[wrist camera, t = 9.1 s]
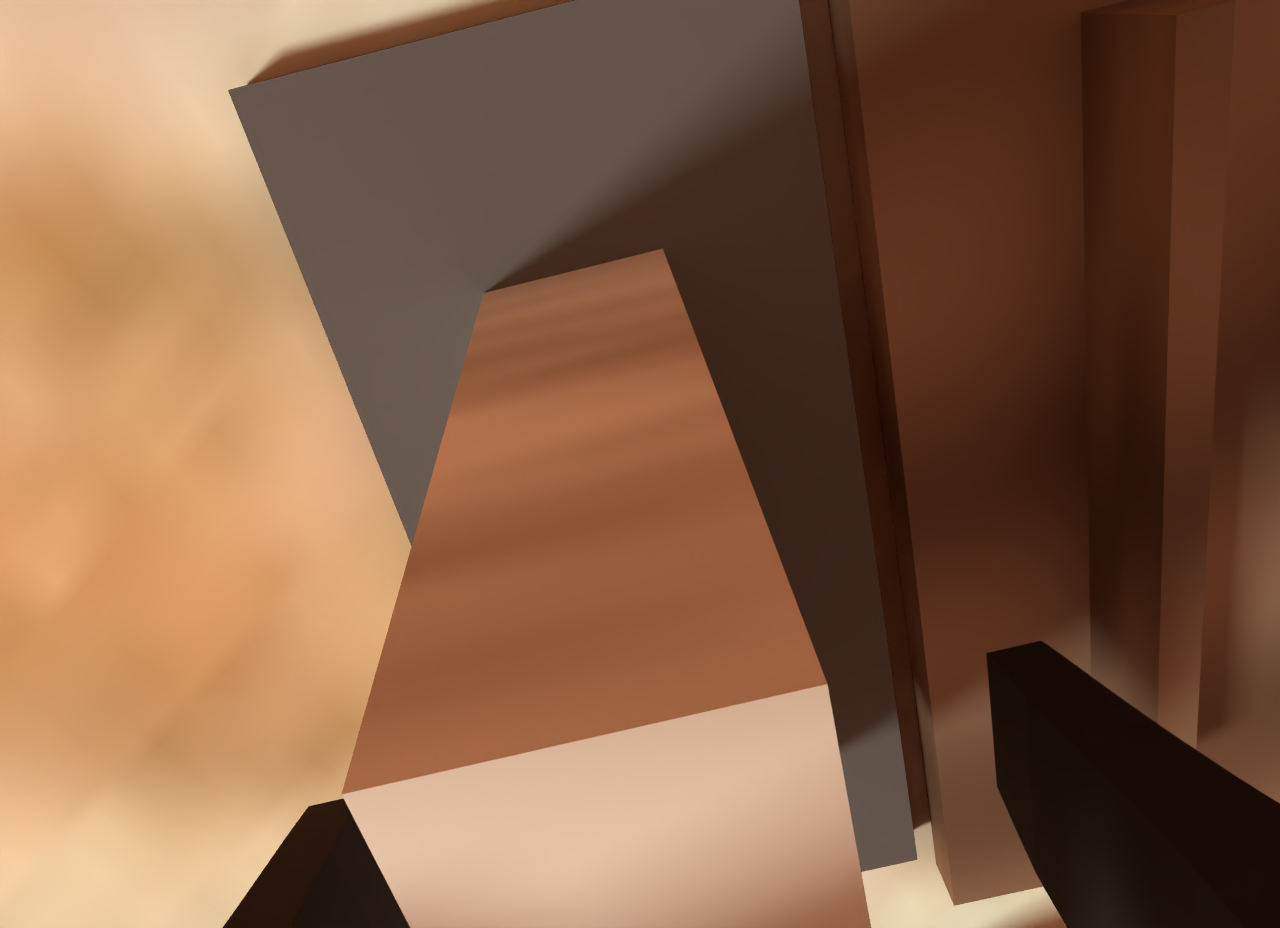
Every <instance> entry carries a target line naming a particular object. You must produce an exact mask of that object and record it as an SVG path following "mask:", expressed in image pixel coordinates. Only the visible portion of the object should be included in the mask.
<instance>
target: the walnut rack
mask: <svg viewBox="0 0 1280 928" xmlns="http://www.w3.org/2000/svg"><path fill="white" fill-rule="evenodd" d="M828 2H829V10H830V18H831V26H832V34H833V42H834V50H835V58H836V66H837V74H838V82H839V90H840V98H841V106H842V114H843V122H844V130H845V138H846V146H847V154H848V162H849V170H850V178H851V186H852V194H853V202H854V210H855V218H856V226H857V234H858V242H859V250H860V258H861V266H862V274H863V282H864V290H865V298H866V306H867V314H868V322H869V330H870V338H871V346H872V354H873V362H874V370H875V378H876V386H877V394H878V402H879V410H880V418H881V426H882V434H883V442H884V450H885V458H886V466H887V474H888V482H889V490H890V498H891V506H892V514H893V522H894V530H895V538H896V546H897V554H898V562H899V570H900V578H901V585H902V593H903V601H904V609H905V617H906V625H907V633H908V641H909V649H910V657H911V665H912V673H913V681H914V689H915V697H916V705H917V713H918V721H919V729H920V737H921V745H922V753H923V761H924V769H925V777H926V785H927V793H928V801H929V809H930V817H931V825H932V833H933V841H934V849H935V857H936V864H937V866H938V869H939V871H940V873H941V876H942V878H943V880H944V883H945V885H946V887H947V890H948V892H949V894H950V897H951V899H952V902H953V904H954V905H959V904H964V903H968V902H973V901H978V900H982V899H987V898H991V897H996V896H1001V895H1005V894H1010V893H1015V892H1019V891H1024V890H1028V889H1033V888H1038V887H1042V886H1043V885H1042V883H1041V881H1040V880H1039V878H1038V876H1037V874H1036V872H1035V870H1034V868H1033V866H1032V864H1031V862H1030V859H1029V857H1028V855H1027V853H1026V851H1025V849H1024V846H1023V844H1022V842H1021V840H1020V838H1019V836H1018V833H1017V831H1016V829H1015V826H1014V824H1013V822H1012V820H1011V817H1010V815H1009V813H1008V811H1007V808H1006V806H1005V804H1004V801H1003V799H1002V797H1001V795H1000V792H999V790H998V788H997V781H996V768H995V756H994V743H993V731H992V718H991V706H990V693H989V681H988V669H987V656H986V653H989V652H993V651H997V650H1002V649H1006V648H1011V647H1015V646H1020V645H1024V644H1028V643H1033V642H1037V641H1042V642H1044V643H1046V644H1047V645H1049V646H1050V647H1052V648H1053V649H1055V650H1056V651H1057V652H1059V653H1060V654H1061V655H1063V656H1064V657H1066V658H1067V659H1068V660H1070V661H1071V662H1072V663H1074V664H1075V665H1077V666H1078V667H1079V668H1081V669H1082V670H1083V671H1085V672H1086V673H1088V674H1089V675H1090V676H1092V677H1093V678H1094V679H1096V680H1097V681H1098V682H1100V683H1101V684H1103V685H1104V686H1105V687H1107V688H1108V689H1110V690H1111V691H1112V692H1114V693H1115V694H1116V695H1118V696H1119V697H1121V698H1122V699H1124V700H1125V701H1126V702H1128V703H1129V704H1131V705H1132V706H1133V707H1135V708H1136V709H1138V710H1139V711H1140V712H1142V713H1143V714H1145V715H1146V716H1147V717H1149V718H1150V719H1152V720H1153V721H1155V722H1156V723H1158V724H1159V725H1160V726H1162V727H1163V728H1165V729H1166V730H1168V731H1169V732H1171V733H1172V734H1174V735H1175V736H1176V737H1178V738H1179V739H1181V740H1182V741H1184V742H1185V743H1187V744H1189V745H1190V746H1192V747H1193V748H1195V749H1196V750H1198V751H1199V752H1201V753H1202V754H1204V755H1205V756H1207V757H1208V758H1210V759H1211V760H1213V761H1214V762H1216V763H1217V764H1219V765H1220V766H1222V767H1223V768H1225V769H1226V770H1228V771H1229V772H1231V773H1232V774H1234V775H1235V776H1237V777H1238V778H1240V779H1242V780H1243V781H1245V782H1246V783H1248V784H1250V785H1251V786H1253V787H1254V788H1256V789H1257V790H1259V791H1261V792H1262V793H1264V794H1265V795H1267V796H1269V797H1270V798H1272V799H1273V800H1275V801H1277V802H1278V803H1280V0H828Z"/></svg>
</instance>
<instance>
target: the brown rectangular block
mask: <svg viewBox="0 0 1280 928" xmlns="http://www.w3.org/2000/svg"><path fill="white" fill-rule="evenodd" d="M342 796H343V798H344V800H345V802H346V804H347V806H348V808H349V810H350V812H351V814H352V816H353V818H354V820H355V822H356V824H357V825H358V827H359V829H360V831H361V833H362V835H363V837H364V839H365V841H366V843H367V845H368V847H369V849H370V851H371V853H372V855H373V856H374V858H375V860H376V862H377V864H378V866H379V868H380V870H381V872H382V874H383V876H384V878H385V880H386V882H387V884H388V886H389V887H390V889H391V891H392V893H393V895H394V897H395V899H396V901H397V903H398V905H399V907H400V909H401V911H402V913H403V915H404V917H405V918H406V920H407V922H408V924H409V926H410V928H871V925H870V919H869V913H868V908H867V902H866V897H865V891H864V886H863V880H862V874H861V869H860V863H859V858H858V852H857V846H856V841H855V835H854V830H853V824H852V819H851V813H850V807H849V802H848V796H847V791H846V785H845V779H844V774H843V768H842V763H841V757H840V752H839V746H838V740H837V735H836V729H835V724H834V718H833V712H832V707H831V701H830V696H829V690H828V685H827V682H826V679H825V676H824V674H823V671H822V668H821V666H820V663H819V661H818V658H817V655H816V653H815V650H814V647H813V645H812V642H811V639H810V637H809V634H808V631H807V629H806V626H805V624H804V621H803V618H802V616H801V613H800V610H799V608H798V605H797V602H796V600H795V597H794V594H793V592H792V589H791V587H790V584H789V581H788V579H787V576H786V573H785V571H784V568H783V565H782V563H781V560H780V557H779V555H778V552H777V550H776V547H775V544H774V542H773V539H772V536H771V534H770V531H769V528H768V526H767V523H766V520H765V518H764V515H763V513H762V510H761V507H760V505H759V502H758V499H757V497H756V494H755V491H754V489H753V486H752V483H751V481H750V478H749V476H748V473H747V470H746V468H745V465H744V462H743V460H742V457H741V454H740V452H739V449H738V446H737V444H736V441H735V439H734V436H733V433H732V431H731V428H730V425H729V423H728V420H727V417H726V415H725V412H724V409H723V407H722V404H721V402H720V399H719V396H718V394H717V391H716V388H715V386H714V383H713V380H712V378H711V375H710V372H709V370H708V367H707V365H706V362H705V359H704V357H703V354H702V351H701V349H700V346H699V343H698V341H697V338H696V335H695V333H694V330H693V328H692V325H691V322H690V320H689V317H688V314H687V312H686V309H685V306H684V304H683V301H682V298H681V296H680V293H679V291H678V288H677V285H676V283H675V280H674V277H673V275H672V272H671V269H670V267H669V264H668V261H667V259H666V256H665V254H664V251H663V249H659V250H655V251H651V252H647V253H643V254H639V255H635V256H631V257H627V258H623V259H619V260H615V261H611V262H607V263H603V264H599V265H595V266H591V267H587V268H583V269H579V270H575V271H571V272H567V273H563V274H559V275H555V276H551V277H546V278H542V279H538V280H534V281H530V282H526V283H522V284H518V285H514V286H510V287H506V288H502V289H498V290H494V291H490V292H486V293H483V296H482V300H481V304H480V307H479V311H478V314H477V318H476V321H475V325H474V328H473V332H472V335H471V339H470V342H469V346H468V349H467V353H466V357H465V360H464V364H463V367H462V371H461V374H460V378H459V381H458V385H457V388H456V392H455V395H454V399H453V402H452V406H451V410H450V413H449V417H448V420H447V424H446V427H445V431H444V434H443V438H442V441H441V445H440V448H439V452H438V455H437V459H436V463H435V466H434V470H433V473H432V477H431V480H430V484H429V487H428V491H427V494H426V498H425V501H424V505H423V508H422V512H421V516H420V519H419V523H418V526H417V530H416V533H415V537H414V540H413V544H412V547H411V551H410V554H409V558H408V561H407V565H406V569H405V572H404V576H403V579H402V583H401V586H400V590H399V593H398V597H397V600H396V604H395V607H394V611H393V614H392V618H391V622H390V625H389V629H388V632H387V636H386V639H385V643H384V646H383V650H382V653H381V657H380V660H379V664H378V667H377V671H376V675H375V678H374V682H373V685H372V689H371V692H370V696H369V699H368V703H367V706H366V710H365V713H364V717H363V720H362V724H361V727H360V731H359V735H358V738H357V742H356V745H355V749H354V752H353V756H352V759H351V763H350V766H349V770H348V773H347V777H346V780H345V784H344V788H343V791H342Z"/></svg>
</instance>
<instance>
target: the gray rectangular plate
mask: <svg viewBox="0 0 1280 928" xmlns="http://www.w3.org/2000/svg"><path fill="white" fill-rule="evenodd" d="M228 91H229V94H230V96H231V99H232V101H233V104H234V106H235V109H236V111H237V114H238V116H239V119H240V121H241V123H242V126H243V128H244V131H245V133H246V136H247V138H248V141H249V143H250V146H251V148H252V151H253V153H254V156H255V158H256V161H257V163H258V166H259V168H260V171H261V173H262V176H263V178H264V181H265V183H266V186H267V188H268V191H269V193H270V196H271V198H272V201H273V203H274V205H275V208H276V210H277V213H278V215H279V218H280V220H281V223H282V225H283V228H284V230H285V233H286V235H287V238H288V240H289V243H290V245H291V248H292V250H293V253H294V255H295V258H296V260H297V263H298V265H299V268H300V270H301V273H302V275H303V278H304V280H305V282H306V285H307V287H308V290H309V292H310V295H311V297H312V300H313V302H314V305H315V307H316V310H317V312H318V315H319V317H320V320H321V322H322V325H323V327H324V330H325V332H326V335H327V337H328V340H329V342H330V345H331V347H332V350H333V352H334V355H335V357H336V359H337V362H338V364H339V367H340V369H341V372H342V374H343V377H344V379H345V382H346V384H347V387H348V389H349V392H350V394H351V397H352V399H353V402H354V404H355V407H356V409H357V412H358V414H359V417H360V419H361V422H362V424H363V427H364V429H365V432H366V434H367V436H368V439H369V441H370V444H371V446H372V449H373V451H374V454H375V456H376V459H377V461H378V464H379V466H380V469H381V471H382V474H383V476H384V479H385V481H386V484H387V486H388V489H389V491H390V494H391V496H392V499H393V501H394V504H395V506H396V509H397V511H398V514H399V516H400V518H401V521H402V523H403V526H404V528H405V531H406V533H407V536H408V538H409V541H410V543H411V546H412V544H413V540H414V537H415V533H416V530H417V526H418V523H419V519H420V516H421V512H422V508H423V505H424V501H425V498H426V494H427V491H428V487H429V484H430V480H431V477H432V473H433V470H434V466H435V463H436V459H437V455H438V452H439V448H440V445H441V441H442V438H443V434H444V431H445V427H446V424H447V420H448V417H449V413H450V410H451V406H452V402H453V399H454V395H455V392H456V388H457V385H458V381H459V378H460V374H461V371H462V367H463V364H464V360H465V357H466V353H467V349H468V346H469V342H470V339H471V335H472V332H473V328H474V325H475V321H476V318H477V314H478V311H479V307H480V304H481V300H482V296H483V293H486V292H490V291H494V290H498V289H502V288H506V287H510V286H514V285H518V284H522V283H526V282H530V281H534V280H538V279H542V278H546V277H551V276H555V275H559V274H563V273H567V272H571V271H575V270H579V269H583V268H587V267H591V266H595V265H599V264H603V263H607V262H611V261H615V260H619V259H623V258H627V257H631V256H635V255H639V254H643V253H647V252H651V251H655V250H659V249H663V251H664V254H665V256H666V259H667V261H668V264H669V267H670V269H671V272H672V275H673V277H674V280H675V283H676V285H677V288H678V291H679V293H680V296H681V298H682V301H683V304H684V306H685V309H686V312H687V314H688V317H689V320H690V322H691V325H692V328H693V330H694V333H695V335H696V338H697V341H698V343H699V346H700V349H701V351H702V354H703V357H704V359H705V362H706V365H707V367H708V370H709V372H710V375H711V378H712V380H713V383H714V386H715V388H716V391H717V394H718V396H719V399H720V402H721V404H722V407H723V409H724V412H725V415H726V417H727V420H728V423H729V425H730V428H731V431H732V433H733V436H734V439H735V441H736V444H737V446H738V449H739V452H740V454H741V457H742V460H743V462H744V465H745V468H746V470H747V473H748V476H749V478H750V481H751V483H752V486H753V489H754V491H755V494H756V497H757V499H758V502H759V505H760V507H761V510H762V513H763V515H764V518H765V520H766V523H767V526H768V528H769V531H770V534H771V536H772V539H773V542H774V544H775V547H776V550H777V552H778V555H779V557H780V560H781V563H782V565H783V568H784V571H785V573H786V576H787V579H788V581H789V584H790V587H791V589H792V592H793V594H794V597H795V600H796V602H797V605H798V608H799V610H800V613H801V616H802V618H803V621H804V624H805V626H806V629H807V631H808V634H809V637H810V639H811V642H812V645H813V647H814V650H815V653H816V655H817V658H818V661H819V663H820V666H821V668H822V671H823V674H824V676H825V679H826V682H827V685H828V690H829V696H830V701H831V707H832V712H833V718H834V724H835V729H836V735H837V740H838V746H839V752H840V757H841V763H842V768H843V774H844V779H845V785H846V791H847V796H848V802H849V807H850V813H851V819H852V824H853V830H854V835H855V841H856V846H857V852H858V858H859V863H860V869H861V872H863V871H867V870H872V869H876V868H881V867H885V866H890V865H895V864H899V863H904V862H908V861H913V860H917V853H916V846H915V838H914V831H913V824H912V817H911V809H910V802H909V795H908V788H907V780H906V773H905V766H904V759H903V751H902V744H901V737H900V730H899V723H898V715H897V708H896V701H895V694H894V686H893V679H892V672H891V665H890V657H889V650H888V643H887V636H886V628H885V621H884V614H883V607H882V599H881V592H880V585H879V578H878V570H877V563H876V556H875V549H874V541H873V534H872V527H871V520H870V512H869V505H868V498H867V491H866V483H865V476H864V469H863V462H862V454H861V447H860V440H859V433H858V425H857V418H856V411H855V404H854V396H853V389H852V382H851V375H850V367H849V360H848V353H847V346H846V338H845V331H844V324H843V317H842V309H841V302H840V295H839V288H838V281H837V273H836V266H835V259H834V252H833V244H832V237H831V230H830V223H829V215H828V208H827V201H826V194H825V186H824V179H823V172H822V165H821V157H820V150H819V143H818V136H817V128H816V121H815V114H814V107H813V99H812V92H811V85H810V78H809V70H808V63H807V56H806V49H805V41H804V34H803V27H802V20H801V12H800V5H799V0H573V1H569V2H565V3H561V4H557V5H554V6H550V7H546V8H542V9H538V10H534V11H530V12H527V13H523V14H519V15H515V16H511V17H507V18H503V19H500V20H496V21H492V22H488V23H484V24H480V25H477V26H473V27H469V28H465V29H461V30H457V31H453V32H450V33H446V34H442V35H438V36H434V37H430V38H426V39H423V40H419V41H415V42H411V43H407V44H403V45H399V46H396V47H392V48H388V49H384V50H380V51H376V52H372V53H369V54H365V55H361V56H357V57H353V58H349V59H346V60H342V61H338V62H334V63H330V64H326V65H322V66H319V67H315V68H311V69H307V70H303V71H299V72H295V73H292V74H288V75H284V76H280V77H276V78H272V79H268V80H265V81H261V82H257V83H253V84H249V85H245V86H242V87H238V88H234V89H231V90H228Z"/></svg>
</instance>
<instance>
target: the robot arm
mask: <svg viewBox="0 0 1280 928" xmlns="http://www.w3.org/2000/svg"><path fill="white" fill-rule="evenodd" d="M986 656H987V669H988V681H989V693H990V706H991V718H992V731H993V743H994V756H995V768H996V781H997V788H998V790H999V792H1000V795H1001V797H1002V799H1003V801H1004V804H1005V806H1006V808H1007V811H1008V813H1009V815H1010V817H1011V820H1012V822H1013V824H1014V826H1015V829H1016V831H1017V833H1018V836H1019V838H1020V840H1021V842H1022V844H1023V846H1024V849H1025V851H1026V853H1027V855H1028V857H1029V859H1030V862H1031V864H1032V866H1033V868H1034V870H1035V872H1036V874H1037V876H1038V878H1039V880H1040V881H1041V883H1042V885H1043V887H1044V888H1045V890H1046V892H1047V894H1048V895H1049V897H1050V899H1051V900H1052V902H1053V904H1054V906H1055V907H1056V909H1057V911H1058V912H1059V914H1060V916H1061V917H1062V919H1063V921H1064V923H1065V924H1066V926H1067V928H1280V803H1278V802H1277V801H1275V800H1273V799H1272V798H1270V797H1269V796H1267V795H1265V794H1264V793H1262V792H1261V791H1259V790H1257V789H1256V788H1254V787H1253V786H1251V785H1250V784H1248V783H1246V782H1245V781H1243V780H1242V779H1240V778H1238V777H1237V776H1235V775H1234V774H1232V773H1231V772H1229V771H1228V770H1226V769H1225V768H1223V767H1222V766H1220V765H1219V764H1217V763H1216V762H1214V761H1213V760H1211V759H1210V758H1208V757H1207V756H1205V755H1204V754H1202V753H1201V752H1199V751H1198V750H1196V749H1195V748H1193V747H1192V746H1190V745H1189V744H1187V743H1185V742H1184V741H1182V740H1181V739H1179V738H1178V737H1176V736H1175V735H1174V734H1172V733H1171V732H1169V731H1168V730H1166V729H1165V728H1163V727H1162V726H1160V725H1159V724H1158V723H1156V722H1155V721H1153V720H1152V719H1150V718H1149V717H1147V716H1146V715H1145V714H1143V713H1142V712H1140V711H1139V710H1138V709H1136V708H1135V707H1133V706H1132V705H1131V704H1129V703H1128V702H1126V701H1125V700H1124V699H1122V698H1121V697H1119V696H1118V695H1116V694H1115V693H1114V692H1112V691H1111V690H1110V689H1108V688H1107V687H1105V686H1104V685H1103V684H1101V683H1100V682H1098V681H1097V680H1096V679H1094V678H1093V677H1092V676H1090V675H1089V674H1088V673H1086V672H1085V671H1083V670H1082V669H1081V668H1079V667H1078V666H1077V665H1075V664H1074V663H1072V662H1071V661H1070V660H1068V659H1067V658H1066V657H1064V656H1063V655H1061V654H1060V653H1059V652H1057V651H1056V650H1055V649H1053V648H1052V647H1050V646H1049V645H1047V644H1046V643H1044V642H1042V641H1037V642H1033V643H1028V644H1024V645H1020V646H1015V647H1011V648H1006V649H1002V650H997V651H993V652H989V653H986ZM223 928H410V926H409V924H408V922H407V920H406V918H405V917H404V915H403V913H402V911H401V909H400V907H399V905H398V903H397V901H396V899H395V897H394V895H393V893H392V891H391V889H390V887H389V886H388V884H387V882H386V880H385V878H384V876H383V874H382V872H381V870H380V868H379V866H378V864H377V862H376V860H375V858H374V856H373V855H372V853H371V851H370V849H369V847H368V845H367V843H366V841H365V839H364V837H363V835H362V833H361V831H360V829H359V827H358V825H357V824H356V822H355V820H354V818H353V816H352V814H351V812H350V810H349V808H348V806H347V804H346V802H345V800H344V799H339V800H335V801H330V802H326V803H322V804H317V805H313V806H309V807H308V808H307V809H306V811H305V812H304V813H303V815H302V816H301V818H300V819H299V820H298V822H297V823H296V824H295V826H294V827H293V828H292V830H291V831H290V833H289V834H288V835H287V837H286V838H285V840H284V841H283V843H282V844H281V845H280V847H279V848H278V850H277V851H276V853H275V854H274V855H273V857H272V858H271V860H270V861H269V863H268V864H267V865H266V867H265V868H264V870H263V871H262V873H261V874H260V875H259V877H258V878H257V880H256V881H255V883H254V884H253V886H252V887H251V888H250V890H249V891H248V893H247V894H246V896H245V897H244V898H243V900H242V901H241V903H240V904H239V906H238V907H237V908H236V910H235V911H234V913H233V914H232V915H231V917H230V918H229V920H228V921H227V922H226V924H225V925H224V926H223Z"/></svg>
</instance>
